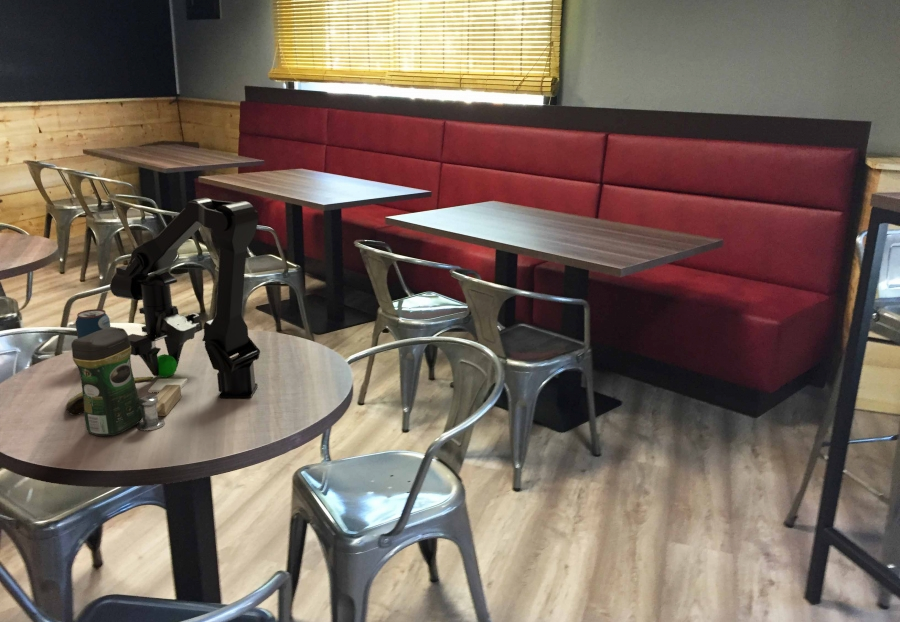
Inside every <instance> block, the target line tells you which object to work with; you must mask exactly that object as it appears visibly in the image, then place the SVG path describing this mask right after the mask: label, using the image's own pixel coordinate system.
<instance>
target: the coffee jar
mask: <svg viewBox="0 0 900 622" xmlns="http://www.w3.org/2000/svg"><path fill="white" fill-rule="evenodd" d="M71 351H72V352H71V355H72V360H73V363H74V364H75V366H76V367H77V369H78V372H79V375H80V383H81V392H83V402H84V412H83V413H84V414H83V415H84V423H85V429H86V431H87V432H88V433H90V434H92V435H94V436H98V437H99V436H100V437H104V436H115V435H118V434H120V433H122V432H124V431H126V430H129V429H130V428H132V427H133V426H135V425H138V424H139V423H140V422H142V421H143V416H142V408H141V406H140V405H139V404H138V400H139V399H140V397H139V393H138V390H137V385H136V382H135V381H134V378H135V376H134V373H133V368H132V363H131V362H132V361H131V356H132V355H131V344H130V341H129V338H128V333H127V331H126V330H125V329H124V328H123V327H122V328H121V327H113V326H110V327H106V328H104V329H102V330H99V331H97V332H94V333H91V334H89V335H87V336H84V337H81V338H78V337H77V338H75V339H73V341H72V342H71Z"/></svg>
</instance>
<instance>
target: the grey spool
mask: <svg viewBox="0 0 900 622" xmlns="http://www.w3.org/2000/svg"><path fill="white" fill-rule="evenodd" d="M157 402H158V397H157V396H156V395H145V396H143V397H139V400H138V404H139V405H140V406H141V408H142V416H143V418H142V420H141V421H140V422H138V423H137V424H136V426H137V429H138V430H139V429H140V431H143V430H144V432H145V430H147V432H148V430H150V431H155V430H159V429H160V428H162V427H164V425H165V424H166V421H165V420H164V419H162V418H159V416H158V414H157V406H156V403H157Z"/></svg>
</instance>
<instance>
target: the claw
mask: <svg viewBox="0 0 900 622" xmlns="http://www.w3.org/2000/svg"><path fill="white" fill-rule="evenodd" d="M154 377H155V376H139V377H135V376H134V381H135V383H138V381H139V382H144V381H149V380H153V379H155V378H154ZM65 409H66V411H67V413H68V414H70V415H73V416H75V415H76V416H78V415H80V414H82V413H84V402H83V392H82V391H80V392H79V393H77V394H75V395H74V396H73V397H72V398H70V399H69V400H68V401H67V402H66V405H65ZM81 412H82V413H81ZM79 413H80V414H79Z"/></svg>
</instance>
